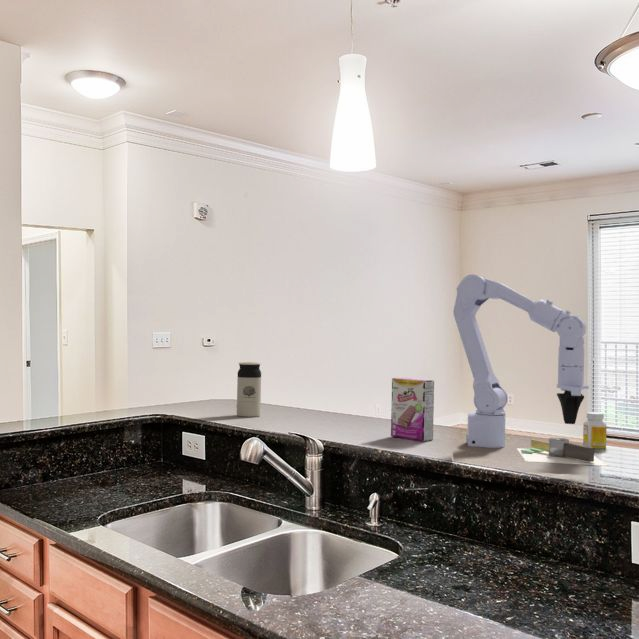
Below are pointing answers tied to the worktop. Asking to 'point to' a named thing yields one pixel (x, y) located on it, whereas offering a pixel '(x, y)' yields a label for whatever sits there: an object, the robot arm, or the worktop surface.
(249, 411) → the travel mug
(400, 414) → the candy bar box
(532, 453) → the board
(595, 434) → the supplement bottle
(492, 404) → the robot arm
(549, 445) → the dial pointer
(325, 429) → the worktop surface
